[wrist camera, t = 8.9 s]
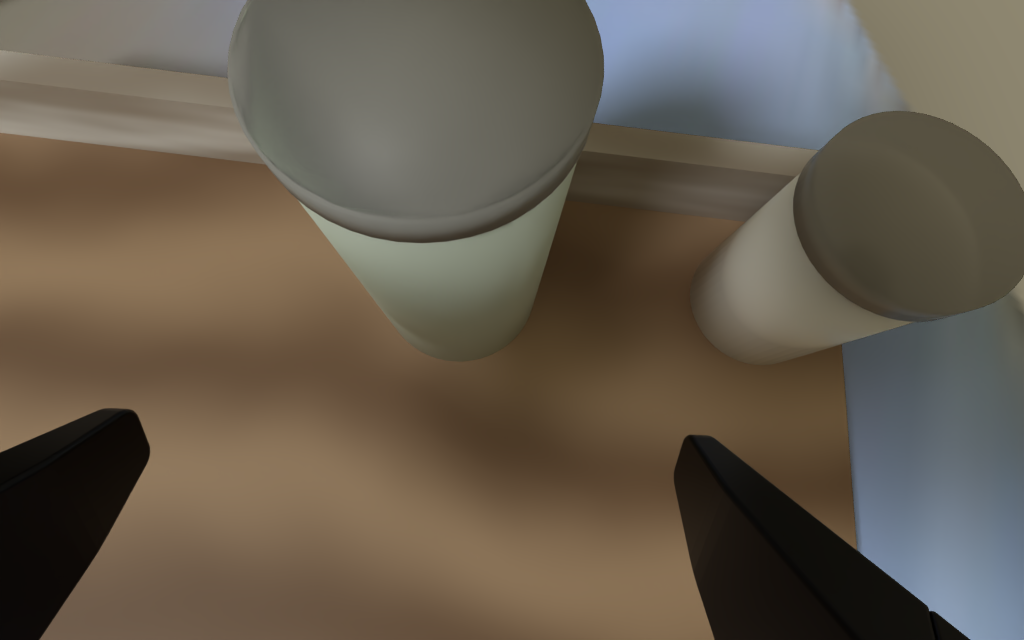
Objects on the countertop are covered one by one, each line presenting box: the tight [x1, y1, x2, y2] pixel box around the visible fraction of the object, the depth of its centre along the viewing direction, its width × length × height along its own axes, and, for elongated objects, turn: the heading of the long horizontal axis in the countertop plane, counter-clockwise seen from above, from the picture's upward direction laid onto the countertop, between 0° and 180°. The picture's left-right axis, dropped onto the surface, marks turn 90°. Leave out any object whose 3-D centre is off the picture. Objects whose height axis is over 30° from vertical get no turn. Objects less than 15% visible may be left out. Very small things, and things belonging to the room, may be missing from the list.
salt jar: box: [690, 111, 1024, 365], centre depth 13 cm, size 5×5×7 cm
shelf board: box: [0, 50, 857, 640], centre depth 14 cm, size 18×30×4 cm, turn 84°
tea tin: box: [227, 0, 604, 362], centre depth 11 cm, size 5×5×10 cm
